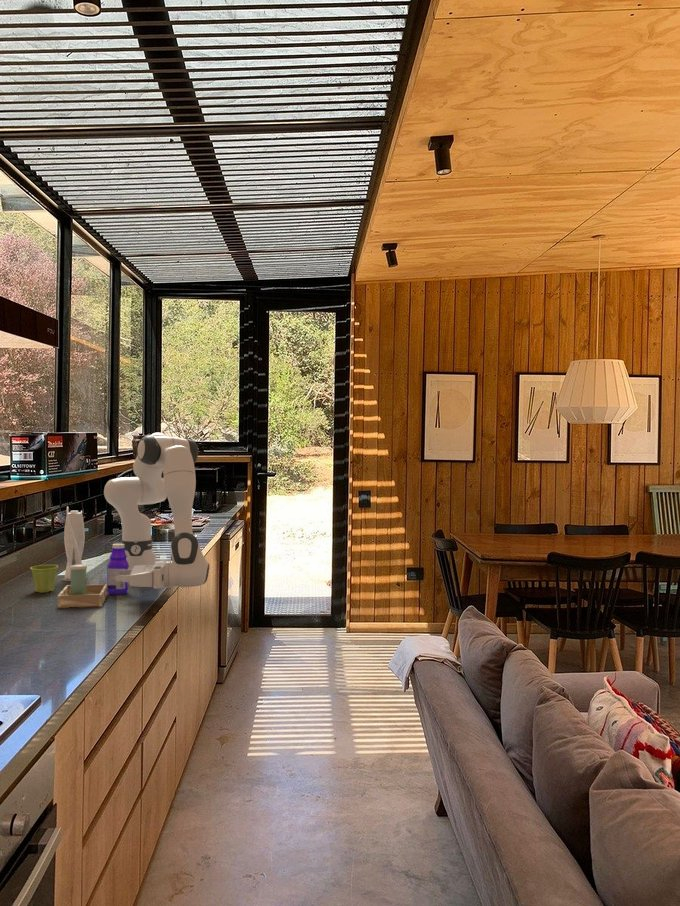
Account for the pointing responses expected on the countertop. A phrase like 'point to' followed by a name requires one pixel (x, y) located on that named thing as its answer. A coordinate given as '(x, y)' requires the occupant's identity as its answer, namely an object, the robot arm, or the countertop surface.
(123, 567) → the bottle
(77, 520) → the skyscraper
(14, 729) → the countertop surface
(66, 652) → the countertop surface
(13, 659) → the countertop surface
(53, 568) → the plant pot
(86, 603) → the crate
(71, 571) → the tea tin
